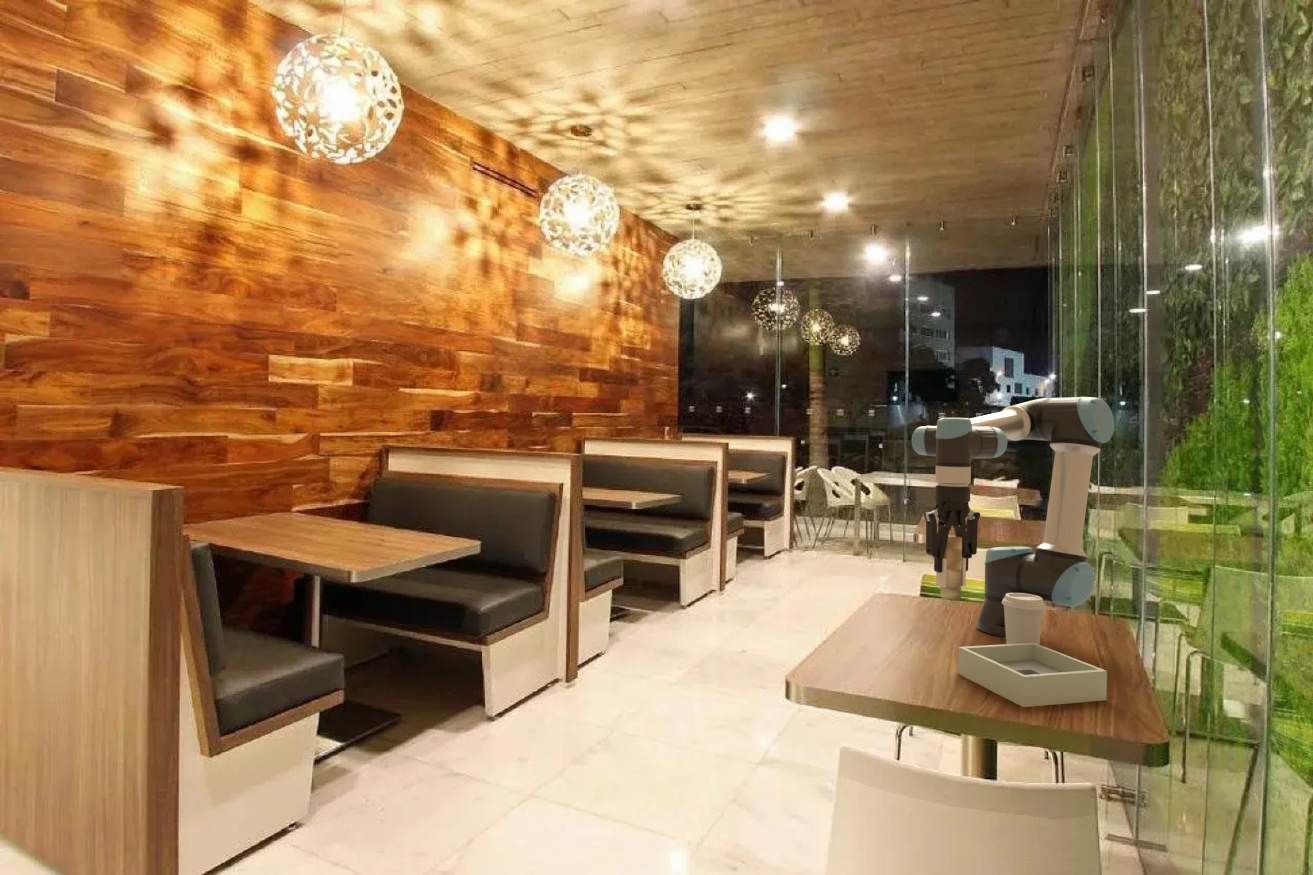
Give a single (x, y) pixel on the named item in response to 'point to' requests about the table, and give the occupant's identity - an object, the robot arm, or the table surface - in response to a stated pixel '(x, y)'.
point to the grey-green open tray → (1032, 674)
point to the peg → (953, 568)
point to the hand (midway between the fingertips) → (950, 585)
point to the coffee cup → (1023, 617)
